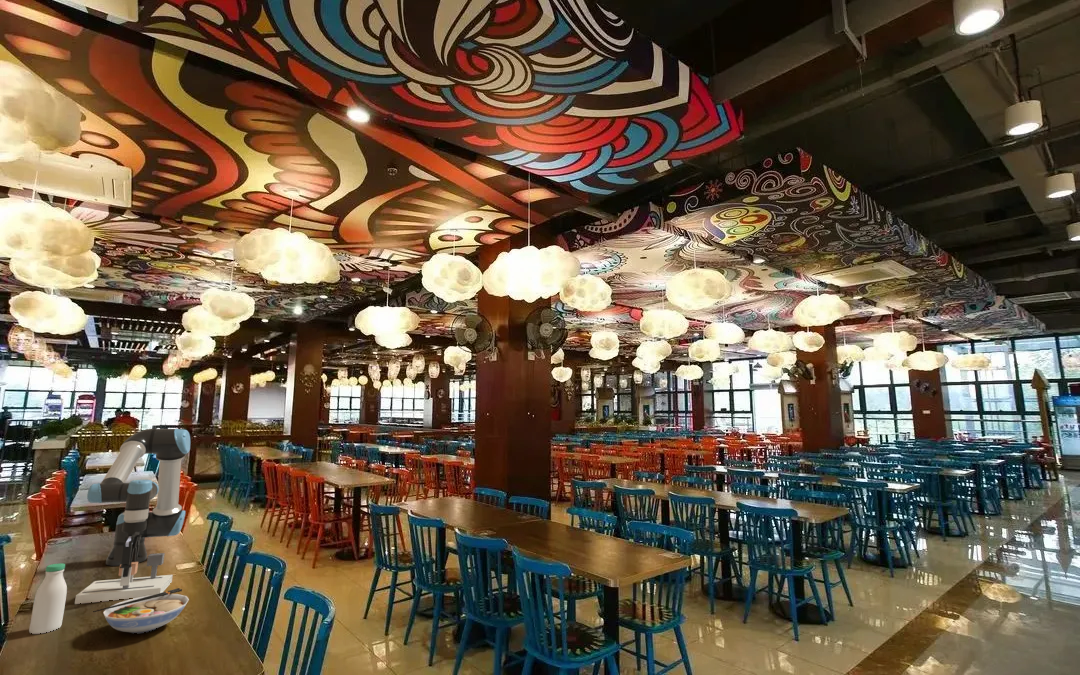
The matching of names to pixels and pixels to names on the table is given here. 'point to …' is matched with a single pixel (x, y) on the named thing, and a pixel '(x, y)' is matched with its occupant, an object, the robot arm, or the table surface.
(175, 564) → the table surface
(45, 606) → the milk bottle
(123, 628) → the ramen bowl
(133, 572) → the fader
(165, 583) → the fader panel
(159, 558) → the fader
